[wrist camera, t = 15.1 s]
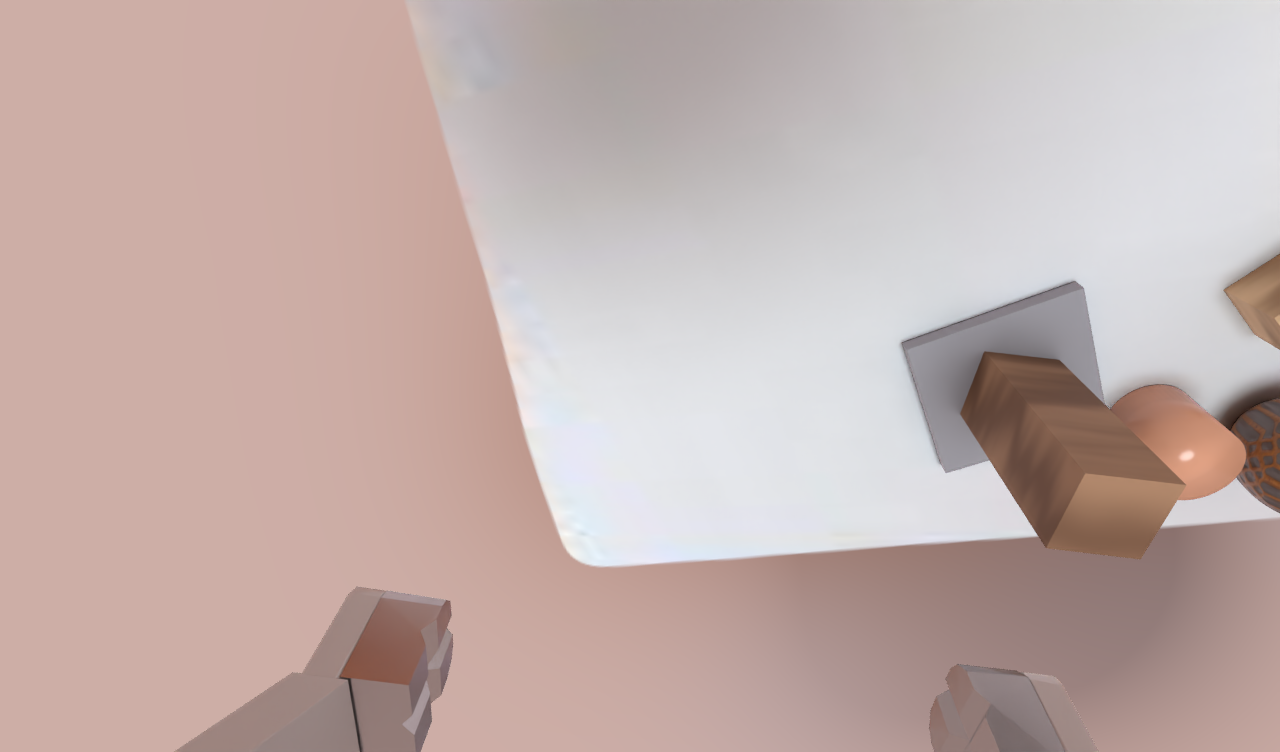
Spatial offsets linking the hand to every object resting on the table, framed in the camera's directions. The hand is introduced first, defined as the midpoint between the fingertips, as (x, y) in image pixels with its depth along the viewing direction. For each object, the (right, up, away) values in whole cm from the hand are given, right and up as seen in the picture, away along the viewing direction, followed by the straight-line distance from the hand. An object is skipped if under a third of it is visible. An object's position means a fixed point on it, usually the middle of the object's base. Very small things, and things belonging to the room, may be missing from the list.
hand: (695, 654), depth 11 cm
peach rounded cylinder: (+32, +2, +32) cm, 45 cm away
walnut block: (+22, +4, +31) cm, 38 cm away
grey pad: (+22, +4, +32) cm, 39 cm away
